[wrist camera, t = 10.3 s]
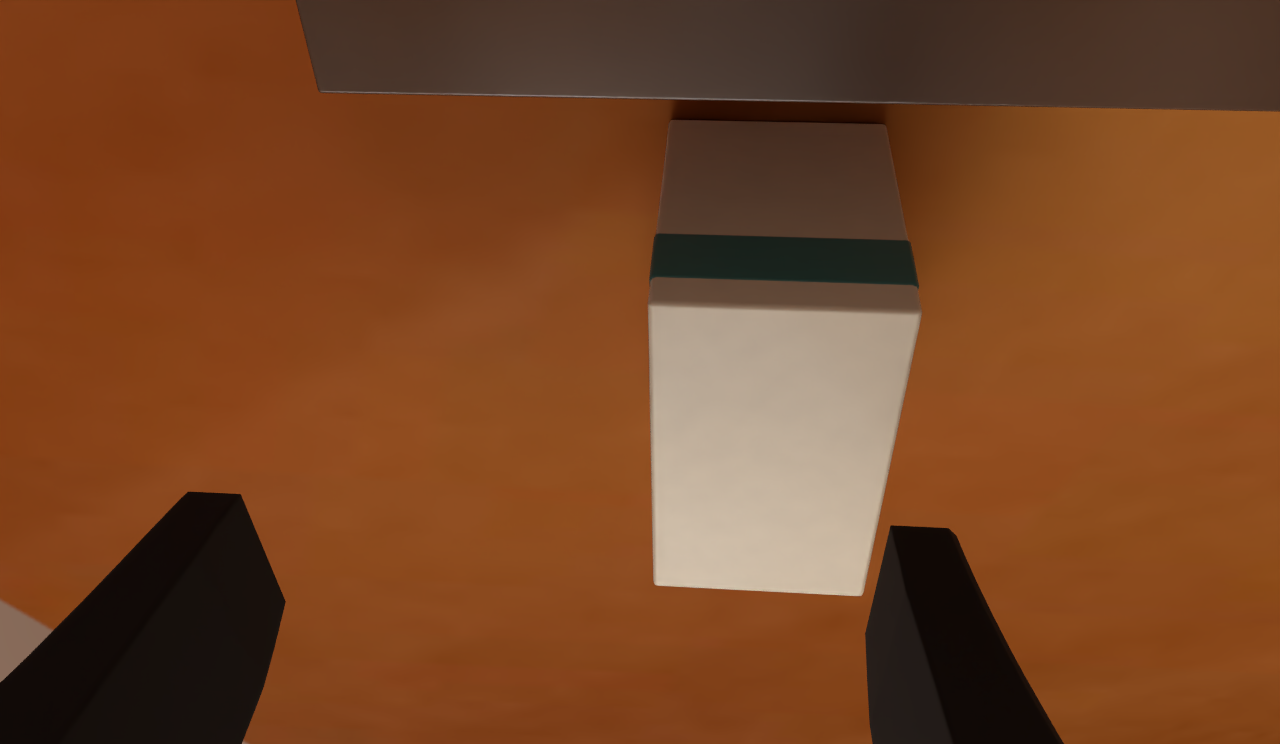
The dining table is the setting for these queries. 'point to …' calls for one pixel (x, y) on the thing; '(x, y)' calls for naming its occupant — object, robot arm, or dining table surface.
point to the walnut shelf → (808, 50)
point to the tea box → (776, 353)
